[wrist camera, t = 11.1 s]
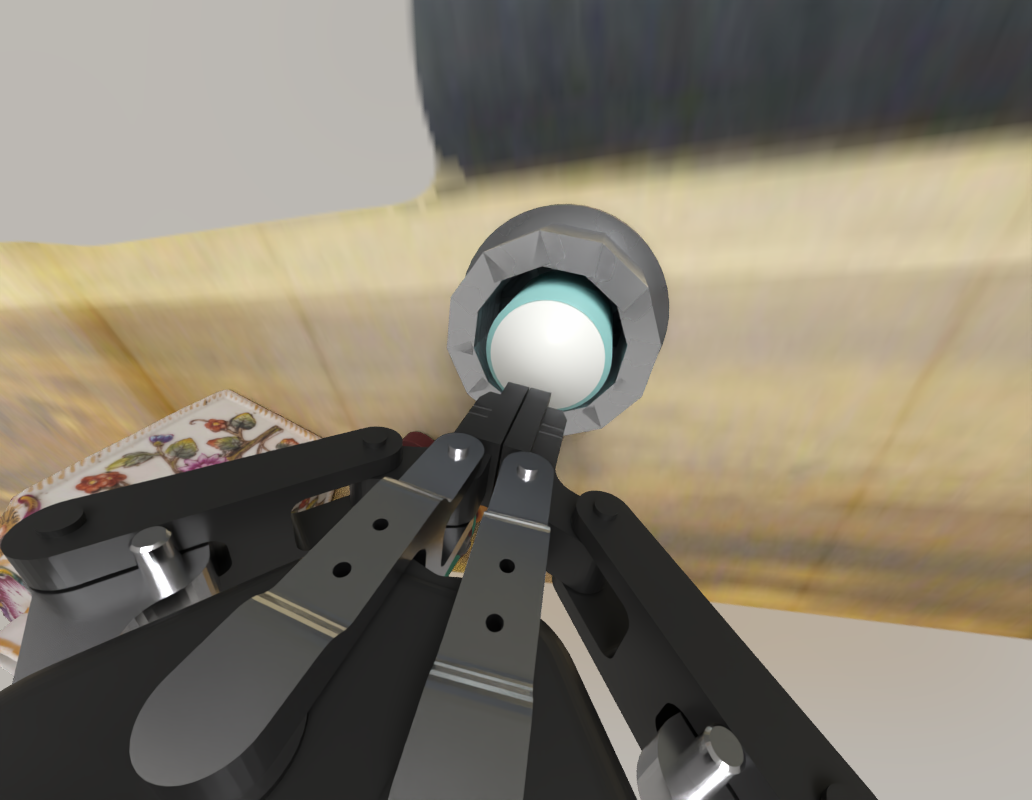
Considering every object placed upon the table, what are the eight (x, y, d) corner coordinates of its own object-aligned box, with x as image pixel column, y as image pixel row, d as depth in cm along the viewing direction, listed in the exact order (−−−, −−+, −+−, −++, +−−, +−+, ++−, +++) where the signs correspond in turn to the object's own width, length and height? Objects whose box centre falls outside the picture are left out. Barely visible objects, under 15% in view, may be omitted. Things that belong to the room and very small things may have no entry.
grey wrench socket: (702, 228, 19) (729, 240, 15) (629, 423, 25) (632, 474, 21) (475, 184, 21) (436, 182, 16) (457, 379, 27) (424, 418, 22)
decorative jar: (351, 449, 32) (110, 684, 17) (327, 529, 38) (133, 756, 23) (222, 381, 32) (-143, 558, 17) (219, 472, 38) (-52, 665, 23)
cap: (626, 282, 21) (629, 311, 16) (597, 377, 24) (592, 427, 19) (521, 259, 21) (493, 280, 16) (506, 354, 24) (477, 397, 19)
